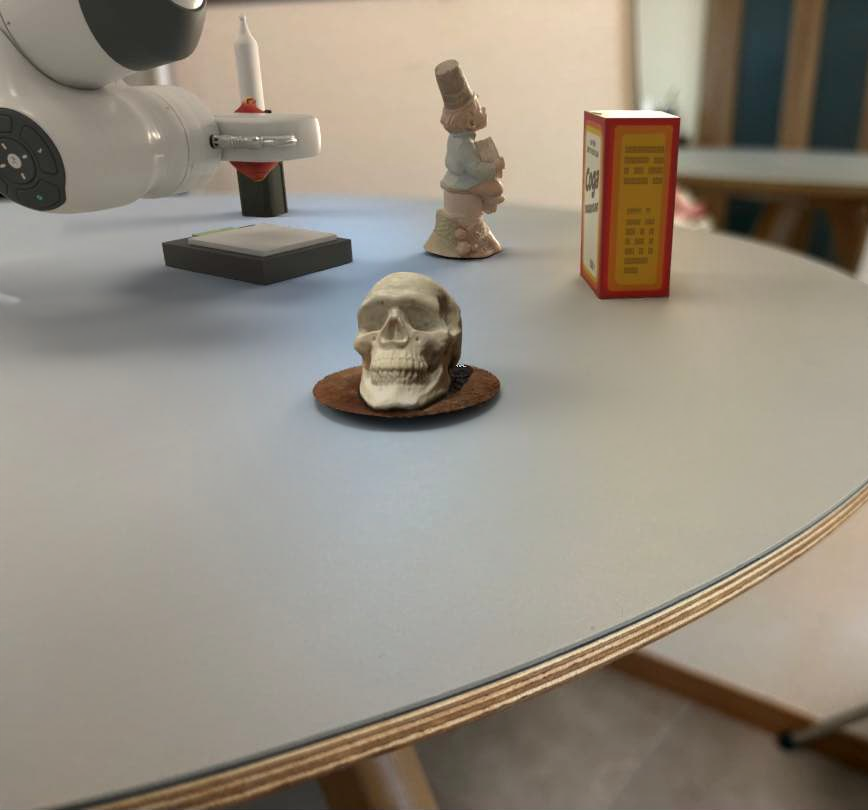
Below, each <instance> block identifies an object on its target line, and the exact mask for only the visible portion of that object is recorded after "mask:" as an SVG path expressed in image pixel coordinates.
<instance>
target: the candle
mask: <svg viewBox="0 0 868 810" xmlns="http://www.w3.org/2000/svg"><path fill="white" fill-rule="evenodd" d="M238 18H239V25H238V31H237V35H236V37H235V40H234V42H233V50H234V51H233V52H234V58H235V67H236V74H237V83H238V91H239V98H240V105H241V104H242V102H243V100H244V99H245V98H247V97H252V98H254V99H255V100H256V103H255V104H256V107H257V108H259V109H260V110H262V111H264V112H265V113H273V110H272V109H266V108H265V99H264V98H265V97H264V90H263V80H262V79H263V78H262V73H261V71H262V70H261V62H260V52H259V45H258V42H257V41H256V39H255V38H254V36H253V35H252V33H251V31H250V28H249V26H248V23H247V21H246V20H247V16H246V15H245V14H244V13H240V14H239V15H238ZM235 170H236V179H237V186H238V193H239V201H240V209H241V215H242V216H243V217H260V218H261V217H262V218H272V217H278V216H279V215H283V214H285V213H284V212H286V213H288V212H289V208H288V197H287V188H286V179H285V170H284V161H280V162H278V163H277V165H276V166H275V167H274V168H273V169H272V170H271V171H270V172H269V173H268V174H267V175H266V177H265V178H264V179H263V180H261V181H254V180H252V179H250V178H249V177H247V176H246V175H244V174H243V173H241V172H240V171H238V170H237V169H236V168H235Z"/></svg>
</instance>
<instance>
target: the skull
mask: <svg viewBox="0 0 868 810" xmlns="http://www.w3.org/2000/svg"><path fill="white" fill-rule="evenodd" d="M461 313H462V310H461V307H460V306H459V304H458V303H457V301H456V300H455V298H454V296H452V295H451V294H450V293H449V292H448V291H447V290H446V289H445V288H444V287H443V286H442V285H441V284H440V283H439V282H437V281H436V280H434V279H433V278H431V277H429V276H427V275H424V274H421V273H419V272H418V273H417V272H412V271H397V272H392V273H390V274H387V275H385V276H384V277H382V278H381V279H380V280H378V281H377V282H376V283H375V284H373V286H372V287H371V289H370V290H369V292H368V293H367V295H366V297H365V298H364V300H363V302H361V304H360V306H359V308H358V310H357V313H356V314H357V315H356V319H357V328H358V332H357V335H356V337H355V339H354V343H353V349H354V350H355V352H356V353H358V355H359V356H360V357H361V359H362V360H361V361H362V363H361V364H362V365H357V366H353V367H352V366H351V367H349V368H345V369H343V370H342V369H341V370H339V371H335V372H333V373H331V374H327V375H326V376H325V377H323V378H322V379H320V380H318V381H317V382H316V383H315V385H313V388H312V394H313V397H314V399H315V400H316V401H318V402H319V403H321V404H323V405H326V408H328V409H331V408H332V409H335V410H338V411H342V412H347V413H352V414H353V413H354V414H357V415H365V416H374V417H383V418H384V417H385V418H391V419H393V418H394V417H396V418H397V417H398V418H399V419H401V418H414V417H422V416H426V415H427V416H429V415H436V414H440V413H445V414H446V413H450V412H452V411H454V412H455V411H456V412H459V410H460V411H461V410H464V409H466V408H467V410H470V407H471V408H477V406H478V407H481V406H482V403H483V402H489V399H494V397H495V395H496V394H498V392H499V391H500V389H501V382H500V379H499V378H498V377H497V375H494V374H493V373H492V372H491V371H488V370H486V369H484V368H480V367H479V366H478V367H479V368H478V367H477V366H475V365H471V364H466V363H464V364H463V365H464V366H466V367H463V366H461V367H459V365H461V364H460V363H459V361H460V360H461V356H462V346H463V320H462V319H463V318H462V314H461ZM457 364H459V365H458V367H457V366H456V365H457ZM476 405H477V406H476Z"/></svg>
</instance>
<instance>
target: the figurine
mask: <svg viewBox="0 0 868 810" xmlns="http://www.w3.org/2000/svg"><path fill="white" fill-rule="evenodd" d="M434 76H435V80H436V83H437V88H438V89H439V93H440V95H441V98H442V102H443V107H442V111H441V112H442V113H441V117H440V120H439V122H440V124H441V125H442V126H443V128H444V130H445V131H446V132H447V133H448V134H449V135H448V136H447V140H446V153H445V157H444V165H445V168H446V169H447V171H446V172H445V174H444V176H443V178H442V179H441V180H440V182H439V185H440V188H441V189H442V190H443V208H442V209H437V210H436V212H435V224H434V229H433V231H432V232H431V233H430V236H429V237H428V239H427V240H426V242H425V243H424V244H423V245H422V248H423V250H425V251H426V252H428V253H431V254H434V255H438V256H443V257H448V258H457V259H458V258H459V259H461V258H466V259H470V258H471V259H478V258H488V257H489V256H491V255H494V254H497V253H499V252H501V251H502V247H501V244H500V243H499V241H498V240H497V239H496V238H495V236H494V234H493V233H492V231H491V229H490V228H489V225H488V224H487V223H486V222H485V219H484V218H483V216H484V213H485V214H487V215H492V214H495V213H496V212H497V209H498V205H500V204H503V203H504V202H505V200H506V198H505V195H503V193H504V185H503V184H502V183H501V181H500V180H501V179H502V178H503V170H506V169H507V168H506V167H507V164H506V160H505V157H504V156H500V153H499V150H498V148H497V147H498V146H497V145H496V143H495V140H494V138H493V137H492V136H488V137H485V138H484V139H480V140H477V141H475V140H476V137H477V131H479V130H483V129H485V128H487V127H488V121H489V115H488V113H487V112H486V111H487V107H486V106H481V105H480V101H479V98H480V96H479V94H476V92H475V91H473V90H472V88H471V86H470V85H469V82H468V80H467V78H466V76H465V74H464V72H463V69H462V67H461V65H460V63H459V62H458V60H456V59H454V58H453V59H447V60H444V61H442V62H440V63H438V64H437V65H436V66H435V68H434Z"/></svg>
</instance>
